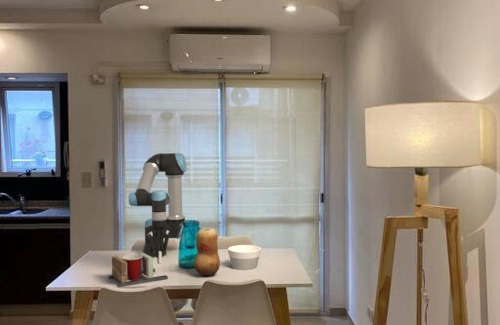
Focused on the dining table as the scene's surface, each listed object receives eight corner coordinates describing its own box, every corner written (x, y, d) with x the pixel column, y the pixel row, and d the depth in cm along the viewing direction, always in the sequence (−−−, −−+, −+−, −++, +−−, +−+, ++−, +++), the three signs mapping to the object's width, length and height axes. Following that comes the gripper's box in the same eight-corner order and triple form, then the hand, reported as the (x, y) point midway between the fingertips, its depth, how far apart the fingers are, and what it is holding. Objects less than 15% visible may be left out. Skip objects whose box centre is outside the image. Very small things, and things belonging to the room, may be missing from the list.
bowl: (245, 273, 255) (245, 253, 254) (220, 267, 268) (220, 248, 267) (268, 266, 269) (268, 248, 269) (243, 261, 282) (243, 243, 282)
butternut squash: (191, 278, 245) (190, 230, 244) (198, 271, 259) (198, 226, 258) (217, 279, 243) (216, 231, 242) (222, 272, 256) (222, 226, 255)
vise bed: (153, 270, 260) (153, 250, 260) (167, 279, 244) (167, 257, 244) (108, 277, 246) (108, 256, 246) (120, 287, 230) (119, 263, 230)
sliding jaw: (142, 270, 255) (141, 251, 254) (153, 277, 241) (152, 257, 241) (136, 271, 253) (136, 252, 253) (147, 277, 240) (147, 258, 239)
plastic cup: (146, 279, 241) (143, 256, 240) (125, 283, 237) (122, 260, 236) (144, 273, 251) (141, 251, 250) (123, 277, 248) (120, 255, 247)
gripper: (149, 221, 244) (150, 266, 245) (173, 219, 251) (173, 263, 252) (144, 219, 251) (145, 263, 251) (167, 217, 258) (168, 260, 258)
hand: (159, 263), depth 252 cm, fingers closed
